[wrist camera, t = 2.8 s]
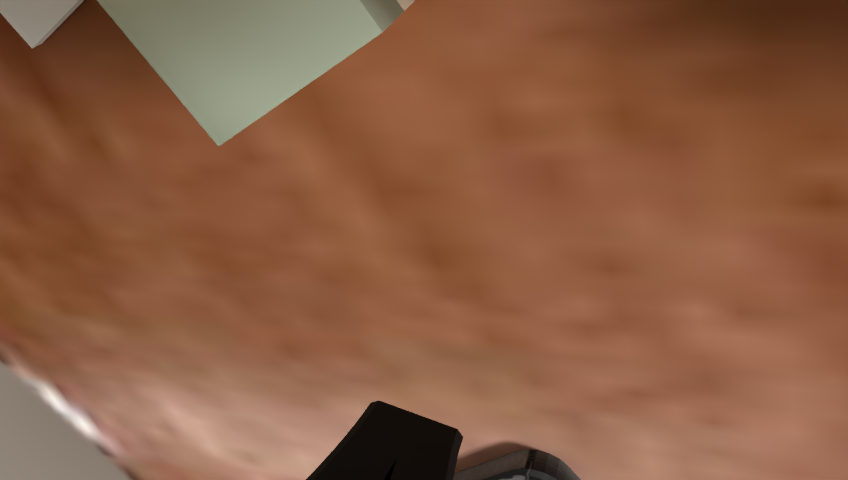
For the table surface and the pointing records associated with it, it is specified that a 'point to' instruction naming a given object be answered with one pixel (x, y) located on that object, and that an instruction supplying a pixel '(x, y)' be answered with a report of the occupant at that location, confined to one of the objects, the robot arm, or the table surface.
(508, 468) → the phone
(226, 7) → the tan and green sponge
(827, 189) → the table surface
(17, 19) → the mat
